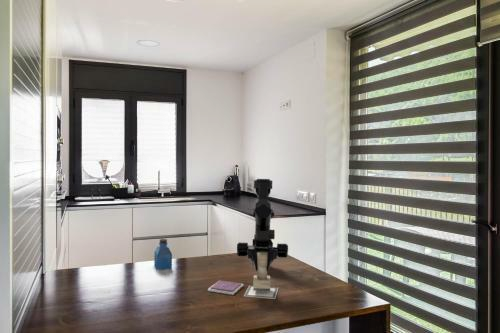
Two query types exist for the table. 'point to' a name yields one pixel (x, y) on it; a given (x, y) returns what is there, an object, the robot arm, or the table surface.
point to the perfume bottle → (163, 256)
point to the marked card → (261, 293)
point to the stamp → (261, 274)
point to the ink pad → (226, 287)
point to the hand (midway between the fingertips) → (262, 270)
